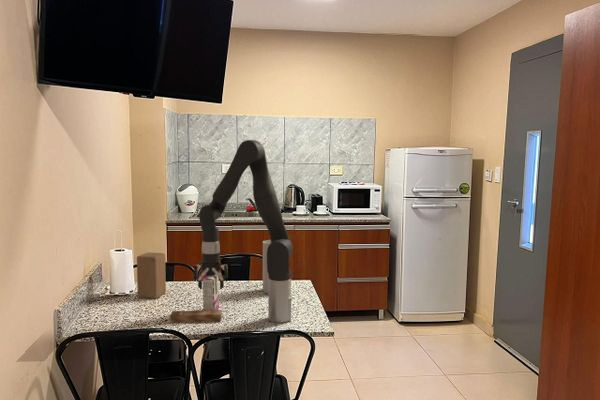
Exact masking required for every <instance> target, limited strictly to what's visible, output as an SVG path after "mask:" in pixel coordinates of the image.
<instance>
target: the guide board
mask: <svg viewBox="0 0 600 400" xmlns="http://www.w3.org/2000/svg"><path fill="white" fill-rule="evenodd" d="M222 313H223V310H219V309H218V311H211V310H208V311H203V310H172V312H171V313H170V314H169V320H170V321H169V323H216V322H217V323H218V322H220V323H221V321H222V317H223V316H222Z"/></svg>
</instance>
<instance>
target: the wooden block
mask: <svg viewBox="0 0 600 400" xmlns="http://www.w3.org/2000/svg"><path fill="white" fill-rule="evenodd" d="M136 275H137V277H136V278H137V280H136V281H137V285H136V286H137V297H138V298H143V299H154V300H155V299H158V298H160V297H162V296H163V295H165V294H166V291H167V288H166V287H167V286H166V285H167V283H166V276H167V275H166V254H165V253H164V252H163V253H162V252H150V251H149V252H145V253H142V254H140V255H138V256H137V257H136Z"/></svg>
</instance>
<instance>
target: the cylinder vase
mask: <svg viewBox="0 0 600 400" xmlns="http://www.w3.org/2000/svg"><path fill="white" fill-rule="evenodd" d="M270 244H271V239H267V240H263V241H262V292H263V293H264V294H267V295H268V293H269V275H268V272H267V249H268V246H269V245H270Z"/></svg>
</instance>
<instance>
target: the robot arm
mask: <svg viewBox="0 0 600 400" xmlns="http://www.w3.org/2000/svg"><path fill="white" fill-rule="evenodd" d="M265 151H266V150H265V148H264V145H263V144H262V143H261V142H260V141H259V140H252V139H245V140H244V141H242V142H241V143H240V144H239V146H238V147H237V150H236V152H235V155H234V157H233V159H232V162H231V163H230V165H229V168H228V169H227V170H226V173H225V175H224V176H223V178H222V179H221V180H220V182H219V184H218V185H217V187H216V188H215V190H214V192H213V194H212V200H211V201H210V203H209V204H206V205H203V206H201V208H200V210H199V213H198V219H199V223H200V227H201V231H202V238H201V239H202V242H201V243H202V244H201V264H197V263H196V264H194V267H193V279H194V280H197V285H198V286H197V287H198V288H199V290H203V278H204V277H205V275H217V276H218V279H219V280H220V281H219V290H223V288H224V286H225V285H224V284H225V283H224V282H225V280H227V279H228V278H229V271H228V269H229V267H228V264H227V263H225V264H221V248H220V247H221V246H220V229H219V228H218V226H216V220H217V221H218V220H219V218H220V217H221V216H222V215H223V213H224V211H225V209H226V207H227V204H228V202H229V201H230V200H231V198H232V196H233V195H234V193H235V192H236V191H237V190H236V189H238V186H239V183H240V180H241V178H242V176H243V175H244V172H245V171H246V170H247V169H248V167H249V169H250V172H251V176H252V195H253V196H252V197H253V200H254V203H255V207H256V210H257V212H258V215H259V217H260V219H261V220H262V222H263V223H264V225H265V227H266V228H267V231H268V233H269V238H270V239H269V240H271V244H270V245H269V246H268V249H267V272H268V275H269V293H268V294H267V295H268V301H267V303H268V305H267V306H268V307H267V308H268V309H267V310H268V312H267V313H268V314H267V317H268V318H267V319H268V321H270V322H272V323H278V324H279V323H281V324H283V323H287V322H292V295H291V294H292V272H291V270H290V257H292V255H293V253H294V252H293V250H294V248H293V247H294V246H293V243H292V241H291V238H290V236H289V234H288V232H287V229H286V226H285V223H284V219H283V214H282V211H281V207H280V203H279V199H278V196H277V193H276V191H275V188H274V187H275V186H274V184H273V180H272V177H271V175H270V172H269V171H270V170H269V166H268V162H267V157H266V152H265ZM200 269H201V270H202V273H201V274H200V275H198V274H199V273H198V271H200ZM221 269H222V270H223V271H224V275H223V274H222V273H221V271H220V270H221Z"/></svg>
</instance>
